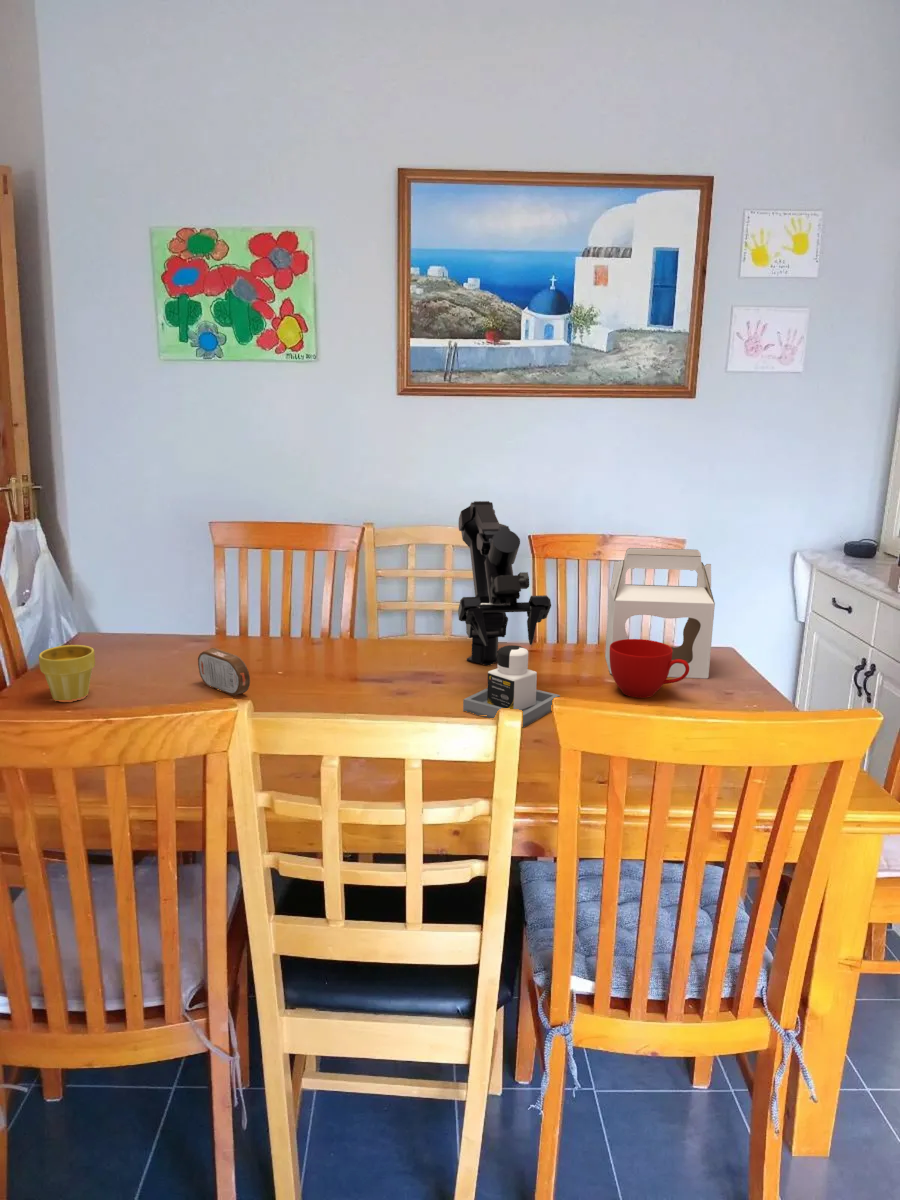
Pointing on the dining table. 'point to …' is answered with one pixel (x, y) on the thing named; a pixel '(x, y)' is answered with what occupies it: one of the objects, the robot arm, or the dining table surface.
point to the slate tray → (480, 707)
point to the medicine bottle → (512, 680)
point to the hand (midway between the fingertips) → (509, 644)
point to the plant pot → (68, 670)
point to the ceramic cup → (642, 666)
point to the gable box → (665, 605)
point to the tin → (224, 671)
